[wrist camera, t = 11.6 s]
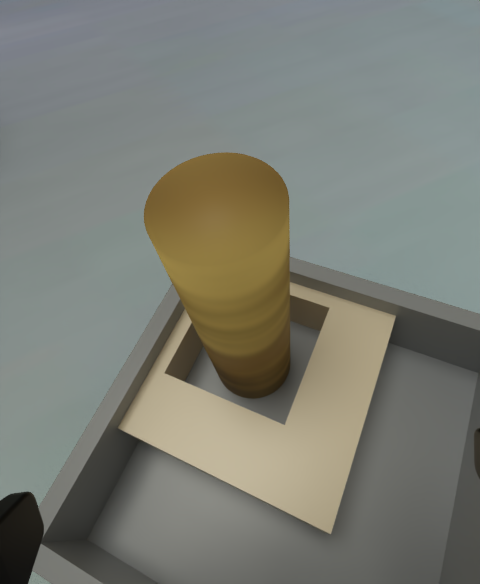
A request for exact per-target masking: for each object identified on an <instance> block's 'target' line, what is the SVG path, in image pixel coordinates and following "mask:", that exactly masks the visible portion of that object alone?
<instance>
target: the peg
mask: <svg viewBox="0 0 480 584" xmlns="http://www.w3.org/2000/svg"><path fill="white" fill-rule="evenodd" d="M144 223H145V227H146V231H147V233H148V235H149V237H150V239H151V241H152V243H153V245H154V247H155V249H156V251H157V253H158V255H159V257H160V259H161V261H162V263H163V265H164V267H165V269H166V271H167V273H168V275H169V277H170V279H171V281H172V283H173V285H174V287H175V289H176V291H177V293H178V295H179V297H180V299H181V301H182V303H183V305H184V307H185V310H186V312H187V314H188V316H189V318H190V320H191V322H192V324H193V326H194V328H195V330H196V332H197V334H198V336H199V338H200V340H201V342H202V344H203V346H204V348H205V350H206V352H207V354H208V356H209V358H210V360H211V362H212V364H213V366H214V368H215V370H216V372H217V374H218V376H219V378H220V380H221V381H222V383H223V385H224V386H225V387H226V388H227V389H228V390H229V391H231V392H232V393H234V394H236V395H238V396H240V397H244V398H251V399H255V398H262V397H265V396H268V395H270V394H272V393H273V392H275V391H276V390H278V389H279V388H280V387H281V386H282V384H283V383H284V382H285V380H286V378H287V376H288V374H289V370H290V249H289V195H288V190H287V187H286V185H285V183H284V181H283V179H282V178H281V176H280V175H279V174H278V173H277V172H276V171H275V170H274V169H273V168H272V167H271V166H269V165H268V164H267V163H265V162H263V161H261V160H259V159H257V158H254V157H251V156H248V155H244V154H238V153H214V154H207V155H203V156H199V157H196V158H193V159H190V160H188V161H186V162H184V163H182V164H180V165H178V166H176V167H175V168H173V169H172V170H170V171H169V172H168V173H167V174H165V175H164V176H163V177H162V178H161V179H160V180H159V181H158V182H157V184H156V185H155V186H154V187H153V189H152V191H151V192H150V194H149V196H148V199H147V201H146V205H145V209H144Z"/></svg>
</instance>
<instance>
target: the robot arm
mask: <svg viewBox="0 0 480 584" xmlns="http://www.w3.org/2000/svg"><path fill="white" fill-rule="evenodd" d="M474 465H475V470H476V473H477V475H478V477H479V479H480V428H477V429H476V430H475V432H474ZM43 535H44V523H43V520H42V517H41V514H40V511H39V508H38V505H37V502H36V499H35V497H34V495H33V494H32V493H31V492H21V493H14V494H10V495H8V496H6V497H5V498H3V499H2V500H1V501H0V584H28V582H29V579H30V576H31V572H32V569H33V566H34V563H35V560H36V557H37V554H38V551H39V548H40V545H41V542H42V539H43Z"/></svg>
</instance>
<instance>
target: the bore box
mask: <svg viewBox="0 0 480 584" xmlns="http://www.w3.org/2000/svg"><path fill="white" fill-rule="evenodd" d="M477 428H480V314H478V313H475V312H472V311H468V310H465V309H462V308H458V307H455V306H452V305H448V304H445V303H442V302H438V301H435V300H432V299H428V298H425V297H422V296H418V295H415V294H412V293H408V292H405V291H402V290H398V289H395V288H392V287H388V286H385V285H382V284H379V283H375V282H372V281H369V280H365V279H362V278H359V277H355V276H352V275H349V274H345V273H342V272H339V271H335V270H332V269H329V268H325V267H322V266H319V265H315V264H312V263H309V262H305V261H302V260H299V259H295V258H292V257H290V370H289V374H288V376H287V378H286V380H285V382H284V383H283V384H282V386H281V387H280V388H279V389H278V390H276V391H275V392H273V393H272V394H270V395H268V396H265V397H262V398H255V399H251V398H244V397H240V396H238V395H236V394H234V393H232V392H231V391H229V390H228V389H227V388H226V387H225V386H224V385H223V383H222V381H221V380H220V378H219V376H218V374H217V372H216V370H215V368H214V366H213V364H212V362H211V360H210V358H209V356H208V354H207V352H206V350H205V348H204V346H203V344H202V342H201V340H200V338H199V336H198V334H197V332H196V330H195V328H194V326H193V324H192V322H191V320H190V318H189V316H188V314H187V312H186V310H185V307H184V305H183V303H182V301H181V299H180V297H179V295H178V293H177V291H176V289H175V287H174V285H173V283H172V285H171V287H170V288H169V290H168V292H167V293H166V295H165V297H164V298H163V300H162V302H161V304H160V305H159V307H158V309H157V310H156V312H155V314H154V315H153V317H152V319H151V320H150V322H149V324H148V325H147V327H146V329H145V330H144V332H143V334H142V335H141V337H140V339H139V340H138V342H137V344H136V345H135V347H134V349H133V350H132V352H131V354H130V355H129V357H128V359H127V360H126V362H125V364H124V365H123V367H122V369H121V370H120V372H119V374H118V375H117V377H116V379H115V381H114V382H113V384H112V386H111V387H110V389H109V391H108V392H107V394H106V396H105V397H104V399H103V401H102V402H101V404H100V406H99V407H98V409H97V411H96V412H95V414H94V416H93V417H92V419H91V421H90V422H89V424H88V426H87V427H86V429H85V431H84V432H83V434H82V436H81V437H80V439H79V441H78V442H77V444H76V446H75V447H74V449H73V451H72V453H71V454H70V456H69V458H68V459H67V461H66V463H65V464H64V466H63V468H62V469H61V471H60V473H59V474H58V476H57V478H56V479H55V481H54V483H53V484H52V486H51V488H50V489H49V491H48V493H47V494H46V496H45V498H44V499H43V501H42V503H41V504H40V506H39V511H40V514H41V517H42V520H43V523H44V535H43V539H42V542H41V545H40V548H39V551H38V554H37V557H36V560H35V563H34V566H33V569H32V571H34V572H35V573H37V574H38V575H40V576H41V577H43V578H44V579H46V580H47V581H49V582H50V583H52V584H480V479H479V477H478V475H477V473H476V470H475V465H474V432H475V430H476V429H477Z"/></svg>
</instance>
